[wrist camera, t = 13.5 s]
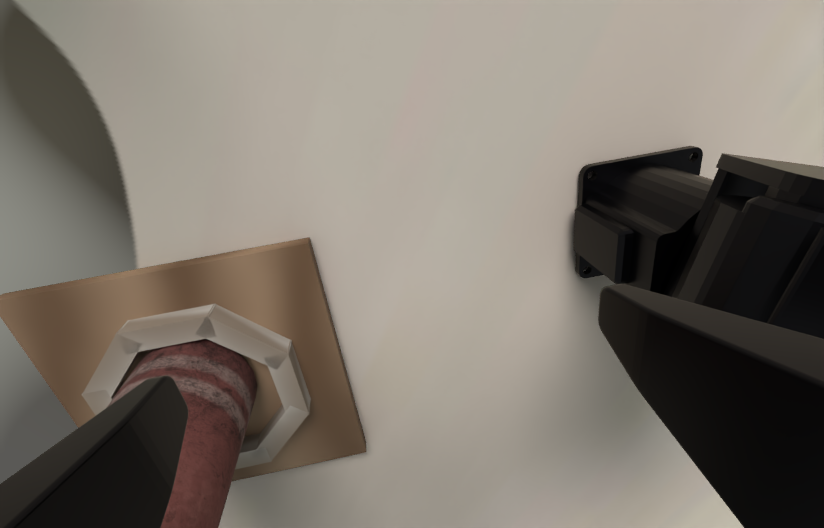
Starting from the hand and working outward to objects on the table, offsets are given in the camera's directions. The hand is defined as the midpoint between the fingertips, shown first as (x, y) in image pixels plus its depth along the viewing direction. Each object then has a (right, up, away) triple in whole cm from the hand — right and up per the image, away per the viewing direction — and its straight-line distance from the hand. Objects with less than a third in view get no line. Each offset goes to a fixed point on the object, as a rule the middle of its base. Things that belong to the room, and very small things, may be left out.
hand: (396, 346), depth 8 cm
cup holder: (-11, -5, +15) cm, 20 cm away
